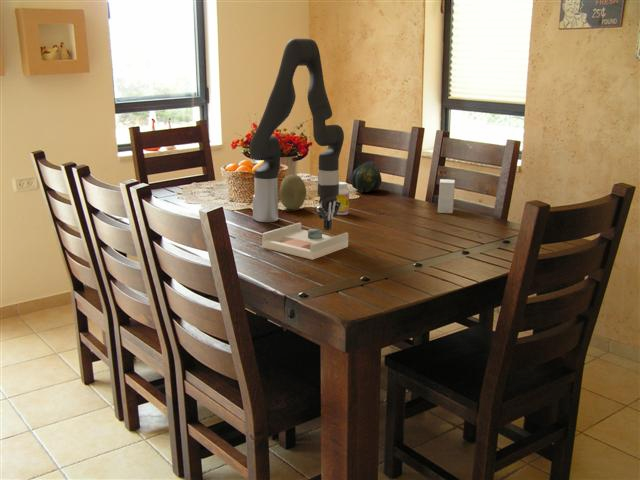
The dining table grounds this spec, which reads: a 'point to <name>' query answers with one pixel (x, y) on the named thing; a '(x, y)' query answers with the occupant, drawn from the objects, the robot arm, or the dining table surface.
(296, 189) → the fruit
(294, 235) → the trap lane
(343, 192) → the supplement bottle
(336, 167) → the robot arm
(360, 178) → the squash
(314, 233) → the puck
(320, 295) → the dining table surface
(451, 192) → the small box
